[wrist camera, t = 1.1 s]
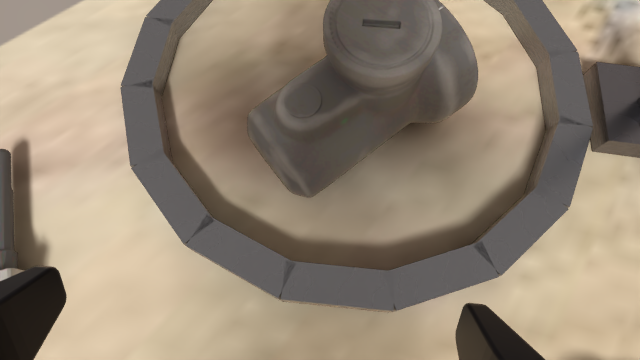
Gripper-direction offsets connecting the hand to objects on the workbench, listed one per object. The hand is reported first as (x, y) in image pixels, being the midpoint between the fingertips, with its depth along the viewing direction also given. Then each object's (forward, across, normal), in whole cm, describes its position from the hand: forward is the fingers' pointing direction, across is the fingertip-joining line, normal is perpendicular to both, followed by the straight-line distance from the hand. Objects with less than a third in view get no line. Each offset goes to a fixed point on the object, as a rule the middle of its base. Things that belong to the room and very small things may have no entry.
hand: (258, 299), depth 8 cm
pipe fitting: (+18, -2, +2) cm, 18 cm away
